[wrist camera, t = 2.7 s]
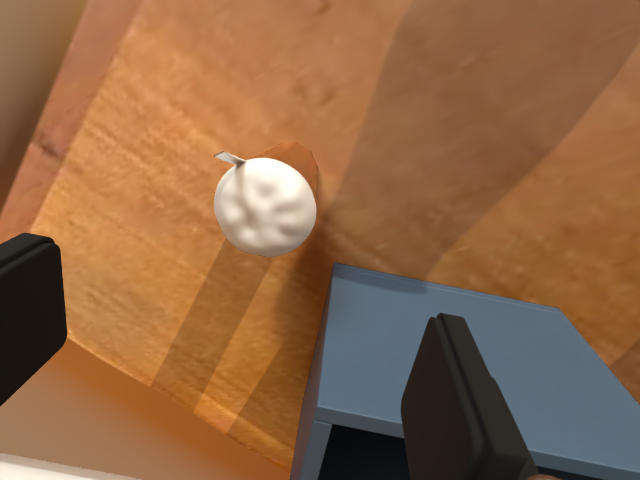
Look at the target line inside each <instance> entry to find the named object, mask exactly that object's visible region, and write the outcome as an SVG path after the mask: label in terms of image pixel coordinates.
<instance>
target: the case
mask: <svg viewBox="0 0 640 480" xmlns="http://www.w3.org/2000/svg"><path fill="white" fill-rule="evenodd" d="M439 313H445V314H450V315H456V316H461V317H463V318H464V319H465V321H466V323H467V325H468V327H469V329H470V332H471V334H472V336H473V338H474V340H475V343H476V345H477V347H478V349H479V351H480V354H481V356H482V358H483V360H484V362H485V365H486V367H487V369H488V371H489V373H490V376H491V377H493V378H494V379H495V380H496V382H497V384H498V386H499V388H500V390H501V392H502V394H503V396H504V399H505V401H506V403H507V405H508V407H509V409H510V411H511V414H512V416H513V418H514V420H515V422H516V424H517V426H518V429H519V431H520V433H521V435H522V437H523V439H524V441H525V444H526V446H527V448H528V450H529V452H530V454H531V456H532V459H533V461H534V463H535V465H536V467H537V469H538V471H539V474H542V475H551V476H554V477H556V478H559V479H562V480H640V405H639V404H638V403H637V402H636V400H635V399H634V398H633V397H632V396H631V394H630V393H629V392H628V391H627V390H626V388H625V387H624V386H623V385H622V384H621V382H620V381H619V380H618V379H617V378H616V376H615V375H614V374H613V373H612V372H611V370H610V369H609V368H608V367H607V366H606V364H605V363H604V362H603V361H602V360H601V358H600V357H599V356H598V355H597V354H596V352H595V351H594V350H593V349H592V348H591V346H590V345H589V344H588V343H587V342H586V340H585V339H584V338H583V337H582V336H581V334H580V333H579V332H578V331H577V330H576V328H575V327H574V326H573V325H572V324H571V322H570V321H569V320H568V319H567V318H566V316H565V315H564V314H563V313H562V312H561V310H560V309H559V308H554V307H549V306H544V305H539V304H535V303H530V302H525V301H520V300H515V299H510V298H505V297H500V296H495V295H490V294H485V293H481V292H476V291H471V290H466V289H461V288H456V287H451V286H446V285H441V284H436V283H432V282H427V281H422V280H417V279H412V278H407V277H402V276H397V275H392V274H387V273H383V272H378V271H373V270H368V269H363V268H358V267H353V266H348V265H343V264H338V263H334V264H333V269H332V273H331V278H330V282H329V287H328V291H327V296H326V300H325V305H324V309H323V314H322V318H321V323H320V327H319V332H318V336H317V341H316V345H315V350H314V354H313V359H312V363H311V368H310V372H309V377H308V381H307V386H306V390H305V395H304V399H303V404H302V408H301V414H300V420H299V426H298V433H297V439H296V445H295V451H294V457H293V463H292V469H291V475H290V480H410V474H409V467H408V460H407V453H406V446H405V439H404V432H403V426H402V419H401V400H402V396H403V393H404V390H405V387H406V384H407V381H408V378H409V375H410V372H411V370H412V367H413V364H414V361H415V358H416V355H417V352H418V349H419V346H420V343H421V340H422V337H423V334H424V331H425V329H426V326H427V323H428V320H429V318H430V317H435V318H436V317H437V315H438V314H439Z"/></svg>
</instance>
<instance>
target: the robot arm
mask: <svg viewBox="0 0 640 480" xmlns="http://www.w3.org/2000/svg"><path fill="white" fill-rule="evenodd" d="M66 337H67V325H66V313H65V301H64V289H63V277H62V265H61V252H60V248H59V246H58V245H56V244H55V242H54V241H53V239H51V238H50V237H45V236H40V235H35V234H30V233H22V234H20V235H18V236H16V237H14V238H12V239H10V240H8V241H6V242H4V243H2V244H0V406H1V405H2V404H3V403H4V402H6V400H7V399H9V398H10V397H11V396H12V395H13V394H14V393H15V392H16V391H17V390H18V389H19V388H20V387H21V386H22V385H23V384H24V383H25V382H26V381H27V380H28V379H29V378H30V377H31V376H32V375H34V374H35V372H37V371H38V370H39V369H40V368H41V367H42V366H43V365H44V364H45V363H46V362H47V361H48V360H49V359H50V358H51V357H52V356H53V355H54V354H55V353H56V352H57V351H58V350H59V349H60V348H61V347H62V346H63V345H64V342H65V340H66ZM401 419H402V426H403V432H404V439H405V446H406V453H407V460H408V467H409V474H410V480H562V479H559V478H556V477H554V476H551V475H542V474H539V471H538V469H537V467H536V465H535V463H534V461H533V459H532V456H531V454H530V452H529V450H528V448H527V446H526V444H525V441H524V439H523V437H522V435H521V433H520V431H519V429H518V426H517V424H516V422H515V420H514V418H513V416H512V414H511V411H510V409H509V407H508V405H507V403H506V401H505V399H504V396H503V394H502V392H501V390H500V388H499V386H498V384H497V382H496V380H495V379H494V378H493V377H491V376H490V373H489V371H488V369H487V367H486V365H485V362H484V360H483V358H482V356H481V354H480V351H479V349H478V347H477V345H476V343H475V340H474V338H473V336H472V334H471V332H470V329H469V327H468V325H467V323H466V321H465V319H464V318H463V317H461V316H456V315H450V314H445V313H439V314H438V315H437V317H436V318H435V317H430V318H429V320H428V323H427V326H426V329H425V331H424V334H423V337H422V340H421V343H420V346H419V349H418V352H417V355H416V358H415V361H414V364H413V367H412V370H411V372H410V375H409V378H408V381H407V384H406V387H405V390H404V393H403V396H402V400H401ZM0 480H143V479H138V478H133V477H128V476H122V475H117V474H112V473H106V472H101V471H96V470H91V469H85V468H80V467H75V466H69V465H64V464H59V463H53V462H48V461H43V460H37V459H32V458H27V457H21V456H16V455H10V454H5V453H0Z"/></svg>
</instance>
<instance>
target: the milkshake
mask: <svg viewBox="0 0 640 480" xmlns="http://www.w3.org/2000/svg"><path fill="white" fill-rule="evenodd" d="M214 157H216V158H219V159H222V160H224V161H227V162H230V163H232V164H235V166H234V167H232V168H231V169H230V170H228V171H227V172H226V173H225V175H224V176H223V177H222V178H221V180H220V182H219V184H218V186H217V189H216V193H215V198H214V211H215V215H216V218H217V221H218V223H219V225H220V228H221V230H222V232H223V233H224V235H225V236H226V238H227V239H228V240H229V241H230V242H231V243H232V244H233V245H234V246H235V247H236V248H238V249H239V250H241V251H244V252H247V253H250V254H255V255H259V256H264V257H274V256H279V255H282V254H285V253H288V252H290V251H292V250H294V249H296V248H297V247H298V246H300V245H301V244H302V243H303V242H304V241H305V240H306V238H307V237H308V236H309V234H310V233H311V231H312V229H313V227H314V224H315V220H316V183H317V172H318V166H317V164H316V161H315V159H314V157H313V154H312V152H311V151H310V150H308V149H307V148H305V147H303V146H302V145H300V144H299V143H281V144H278V145H277V146H275V147H273V148H271V149H269V150H267V151H265V152H263V153H261V154H260V155H258V156H255V157H253V158H250V159H248V160H243V159H241V158H239V157H236V156H234V155H232V154H229V153H227V152H224V151H223V152H220V153H218V154H215V155H214Z"/></svg>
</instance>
